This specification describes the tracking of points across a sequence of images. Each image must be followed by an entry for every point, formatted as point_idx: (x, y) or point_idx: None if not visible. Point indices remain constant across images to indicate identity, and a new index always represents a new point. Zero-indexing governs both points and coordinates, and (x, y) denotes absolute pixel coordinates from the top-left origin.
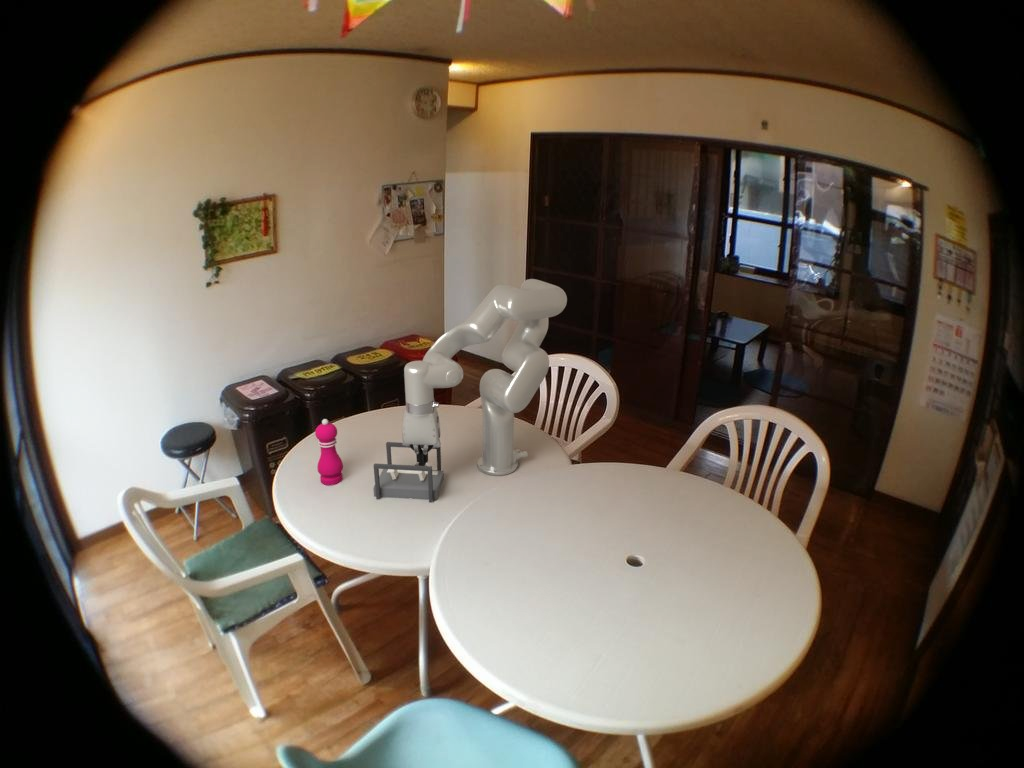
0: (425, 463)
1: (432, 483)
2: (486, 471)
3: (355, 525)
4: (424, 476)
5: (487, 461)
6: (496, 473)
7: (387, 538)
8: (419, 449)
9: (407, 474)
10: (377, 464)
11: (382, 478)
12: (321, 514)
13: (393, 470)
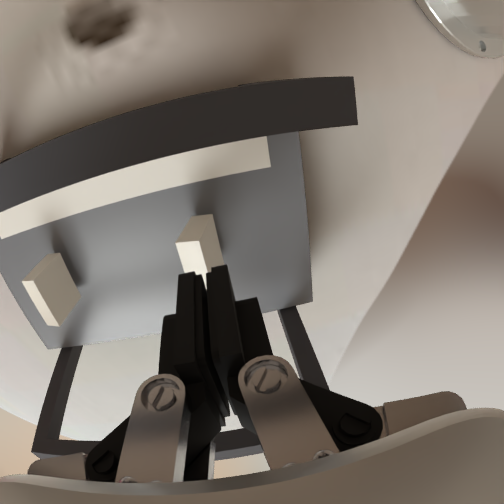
0: (233, 293)
1: (310, 343)
2: (456, 41)
3: (121, 416)
4: (216, 243)
5: (481, 16)
6: (485, 57)
7: (222, 426)
8: (202, 433)
9: (95, 219)
10: (48, 457)
11: (24, 290)
12: (27, 398)
13: (49, 314)
